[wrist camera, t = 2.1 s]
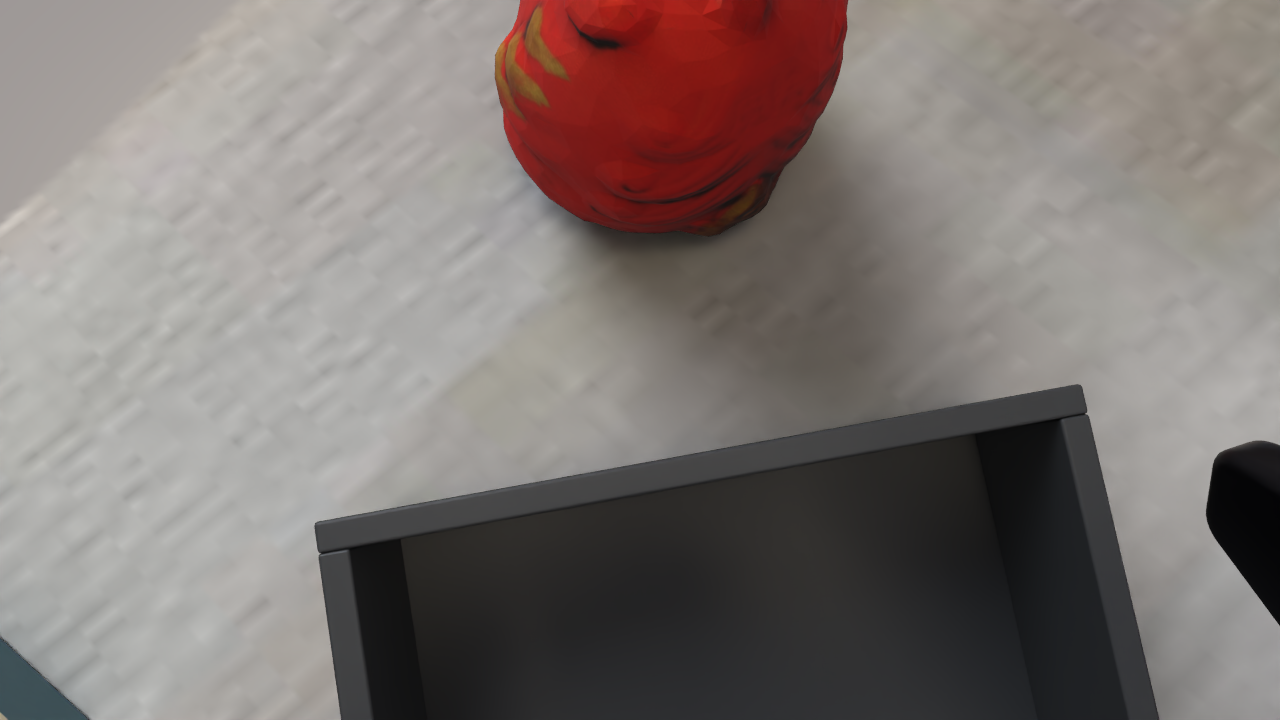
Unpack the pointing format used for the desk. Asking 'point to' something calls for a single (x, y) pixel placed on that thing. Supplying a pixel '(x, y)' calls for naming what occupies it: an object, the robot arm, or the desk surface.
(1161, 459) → the desk surface
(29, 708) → the teal gift box
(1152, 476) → the desk surface
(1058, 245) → the desk surface
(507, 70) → the red clay folk toy
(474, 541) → the dark grey open box
